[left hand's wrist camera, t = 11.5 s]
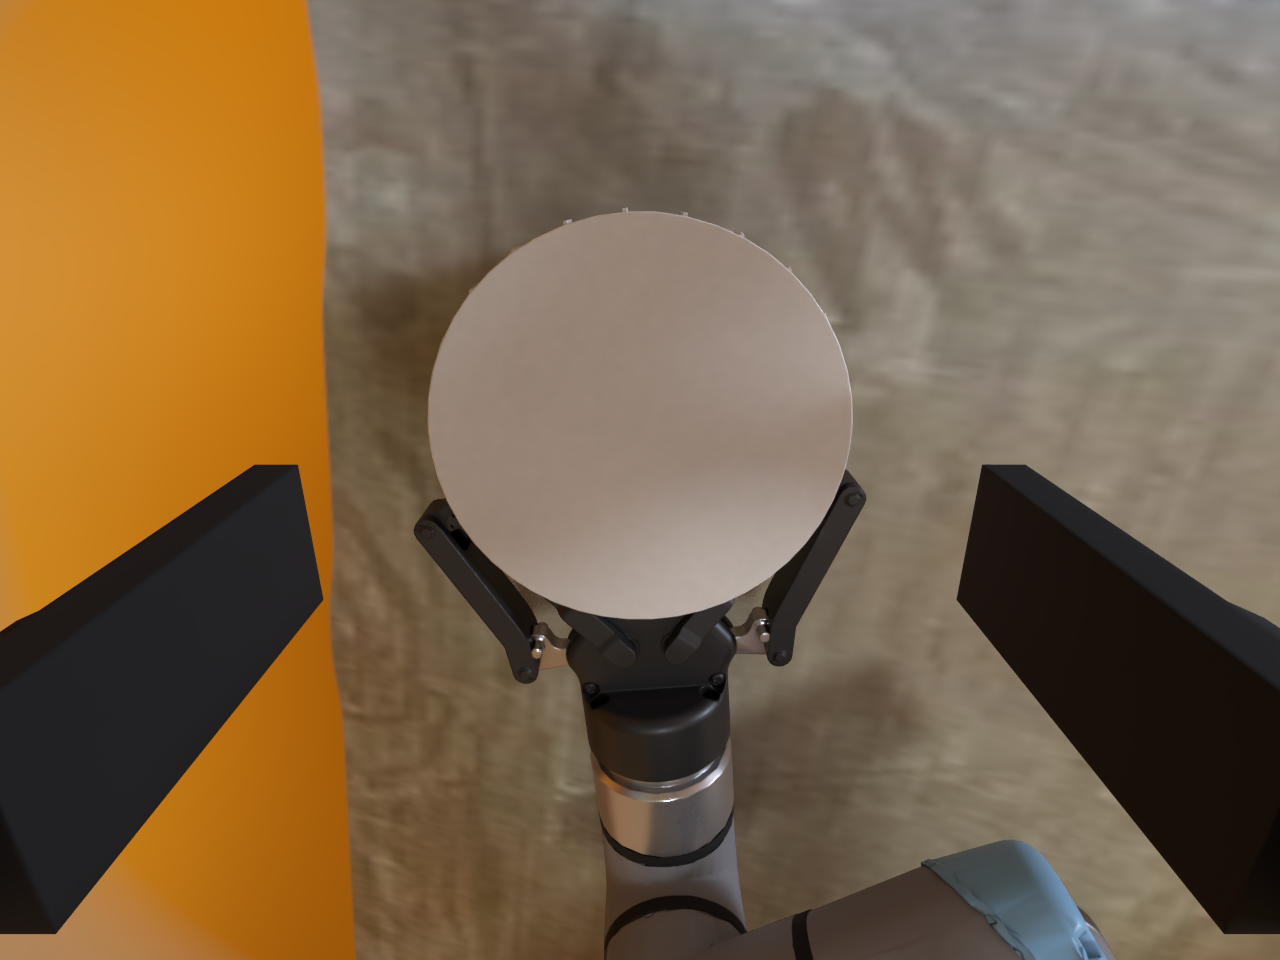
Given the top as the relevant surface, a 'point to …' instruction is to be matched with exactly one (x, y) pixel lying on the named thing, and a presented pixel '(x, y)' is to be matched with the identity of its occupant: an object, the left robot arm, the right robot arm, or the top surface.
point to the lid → (639, 415)
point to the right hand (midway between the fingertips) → (621, 334)
